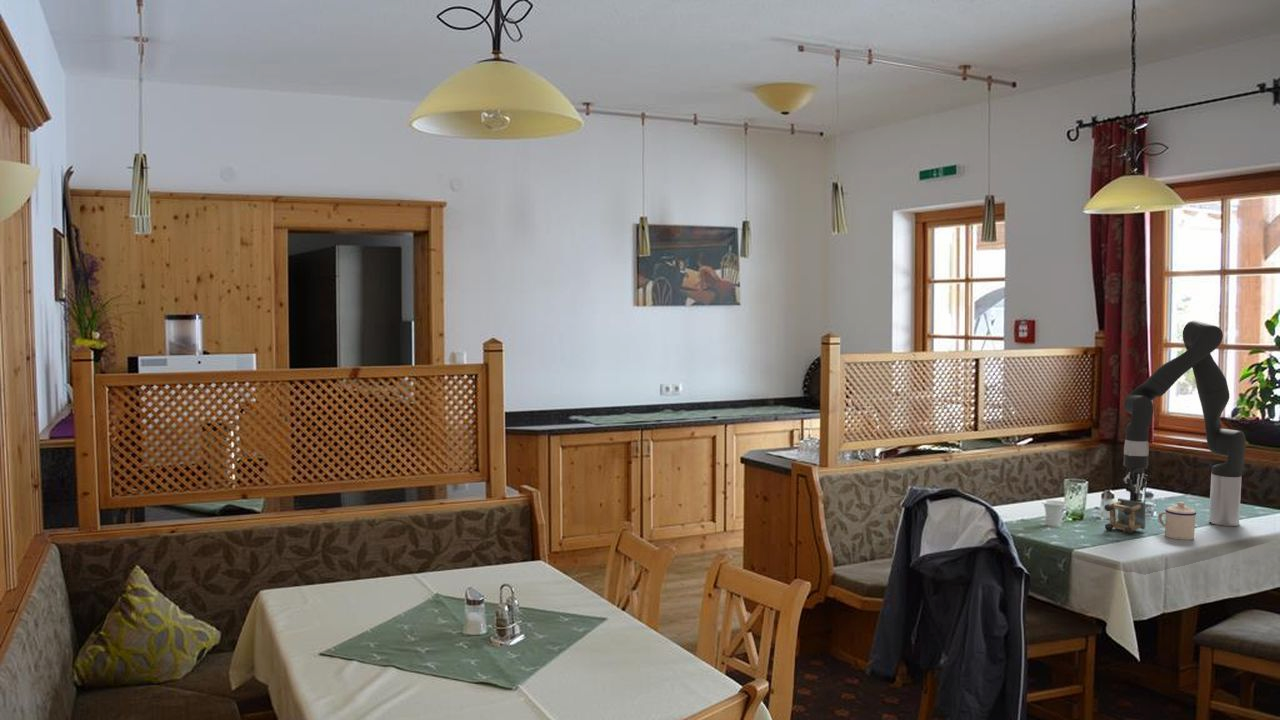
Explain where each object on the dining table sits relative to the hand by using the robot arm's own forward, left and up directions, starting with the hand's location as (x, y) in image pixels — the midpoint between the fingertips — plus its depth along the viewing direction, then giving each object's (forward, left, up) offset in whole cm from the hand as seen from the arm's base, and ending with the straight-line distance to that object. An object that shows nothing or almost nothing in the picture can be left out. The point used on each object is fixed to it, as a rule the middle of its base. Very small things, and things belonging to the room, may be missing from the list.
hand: (1133, 503), depth 349 cm
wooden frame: (+5, 0, -8) cm, 10 cm away
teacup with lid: (-2, +13, -9) cm, 16 cm away
